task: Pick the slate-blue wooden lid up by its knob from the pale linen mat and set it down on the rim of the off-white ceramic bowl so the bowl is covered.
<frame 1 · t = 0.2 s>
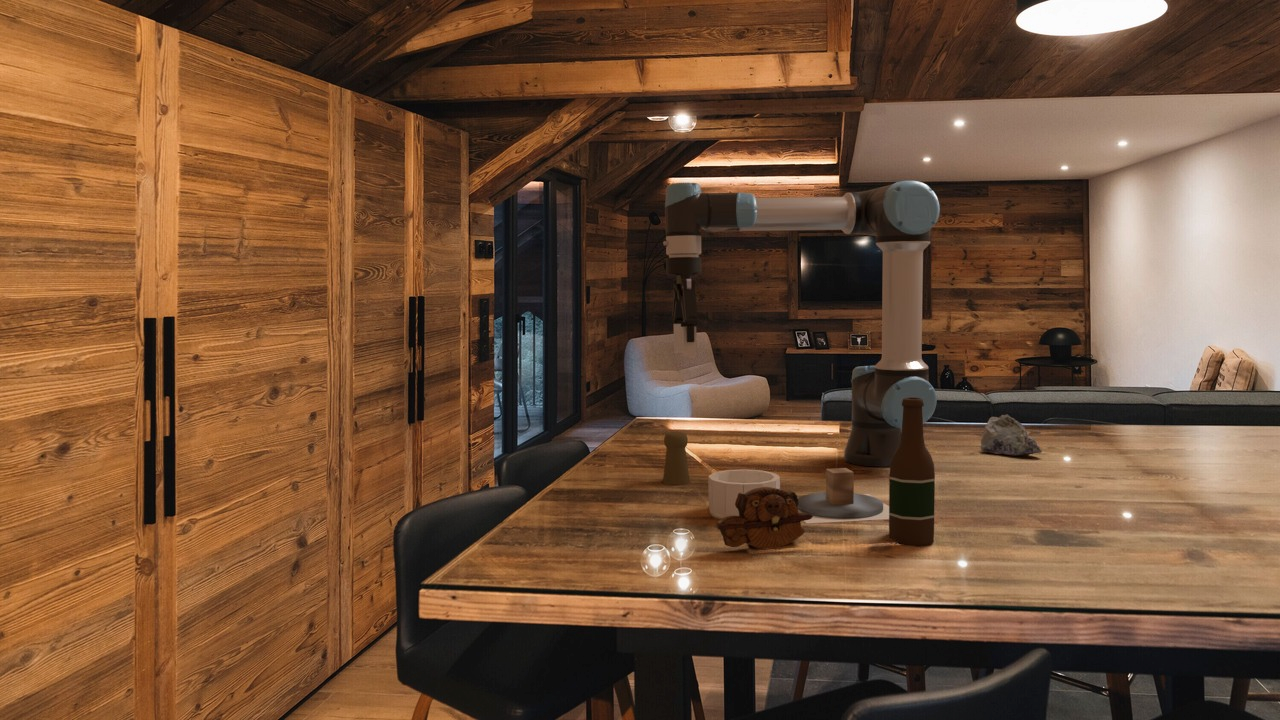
hand: (684, 355, 199), 28 cm above the table, tool pointing down, fingers open, 13 cm apart
beer bottle: (911, 541, 155), on the table
cork: (676, 483, 202), on the table
mat: (839, 510, 175), on the table
wooden carving: (766, 549, 151), on the table
lid: (839, 507, 175), point 1 cm above the table, touching mat
bowl: (744, 513, 174), on the table
mineral rock: (1009, 456, 226), on the table
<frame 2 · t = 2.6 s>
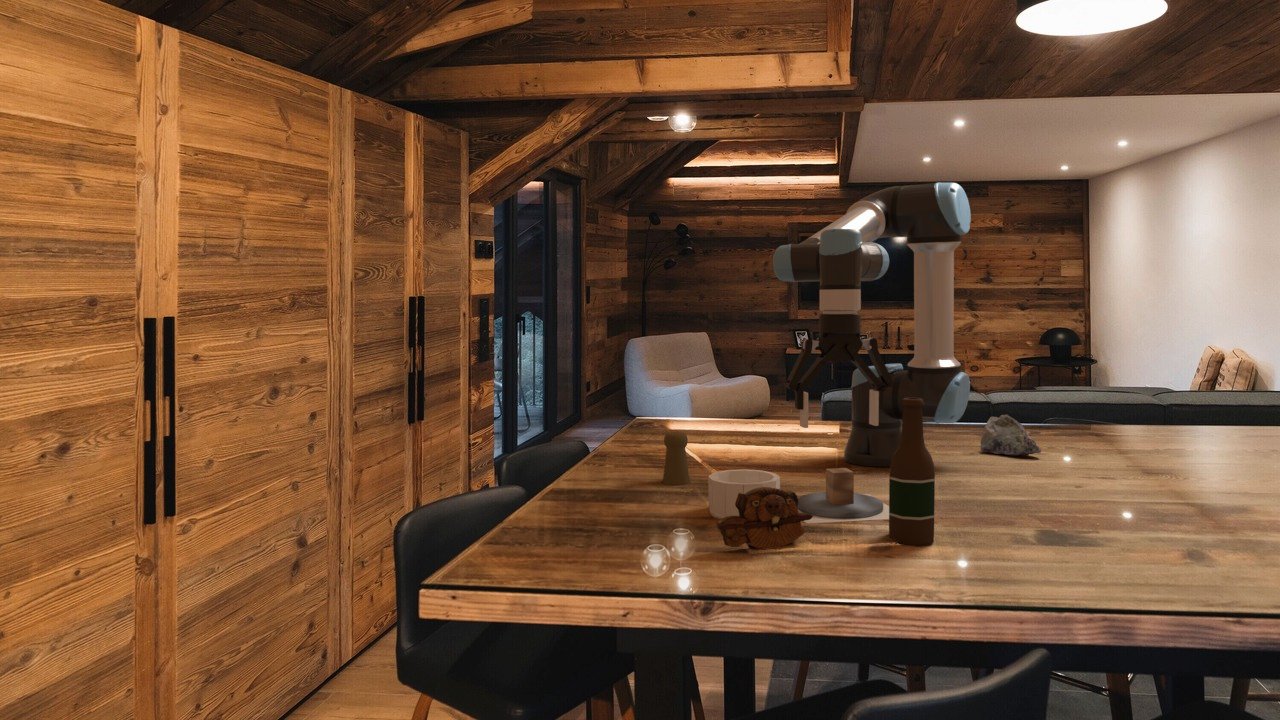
hand: (839, 426, 173), 16 cm above the table, tool pointing down, fingers open, 13 cm apart
nothing on the table moved.
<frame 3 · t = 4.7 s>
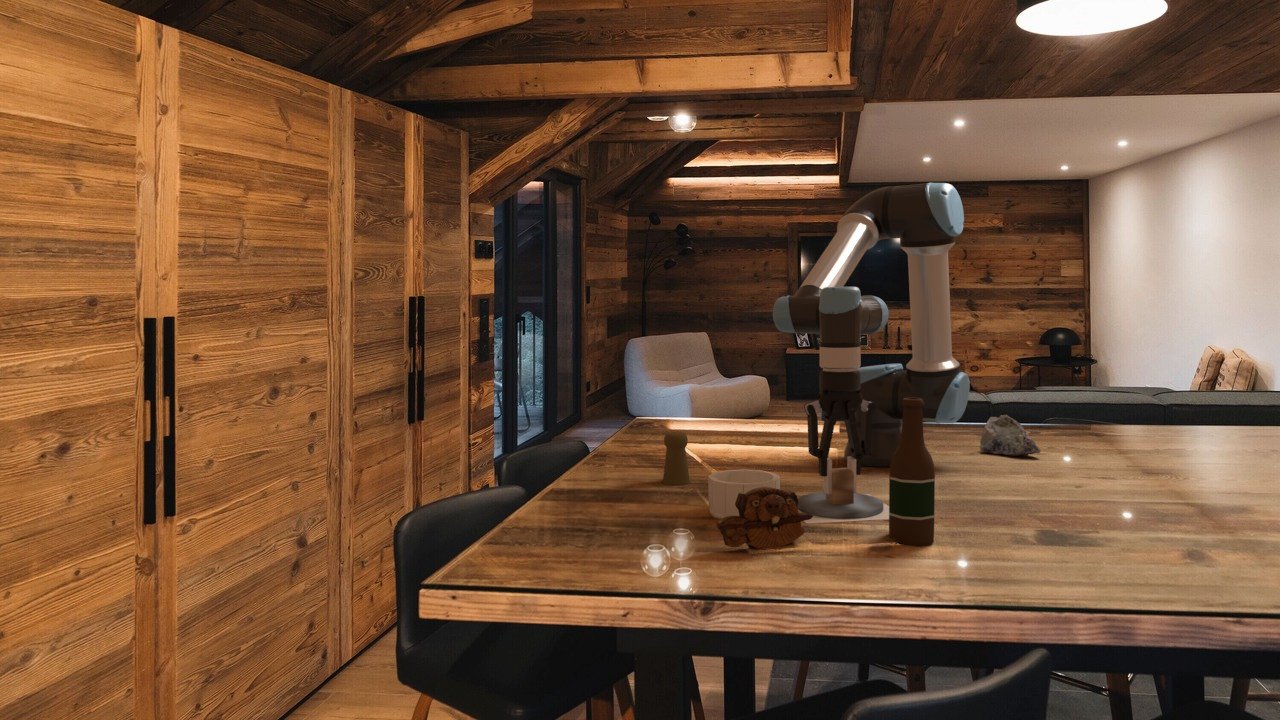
hand: (839, 492, 174), 4 cm above the table, tool pointing down, fingers closed on lid, 4 cm apart
lid: (839, 507, 175), point 1 cm above the table, touching gripper, mat
everything else where it was.
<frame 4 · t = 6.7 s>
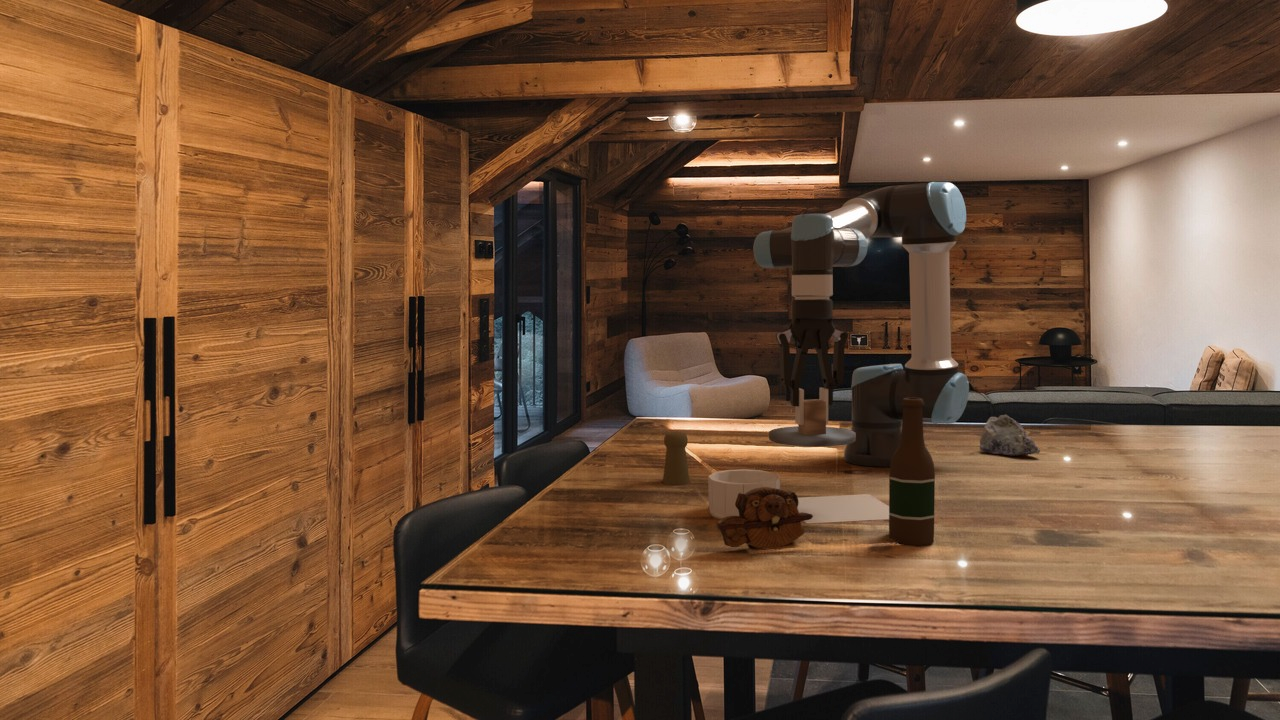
hand: (811, 422, 173), 17 cm above the table, tool pointing down, fingers closed on lid, 4 cm apart
lid: (811, 439, 173), point 14 cm above the table, touching gripper
everything else where it was.
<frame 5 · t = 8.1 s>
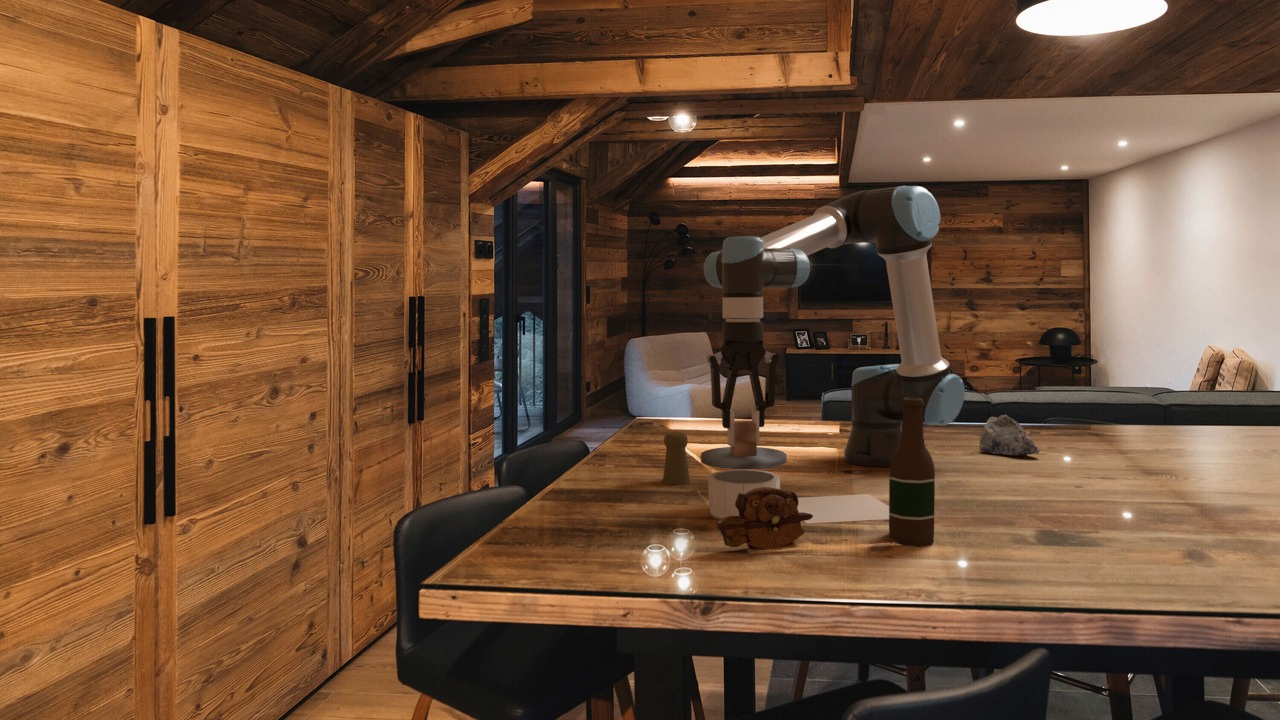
hand: (743, 444, 173), 13 cm above the table, tool pointing down, fingers closed on lid, 4 cm apart
lid: (743, 460, 173), point 10 cm above the table, touching gripper
everything else where it was.
when the fingers open (12 cm above the table, at t = 8.9 s): lid drops 2 cm, resting on bowl.
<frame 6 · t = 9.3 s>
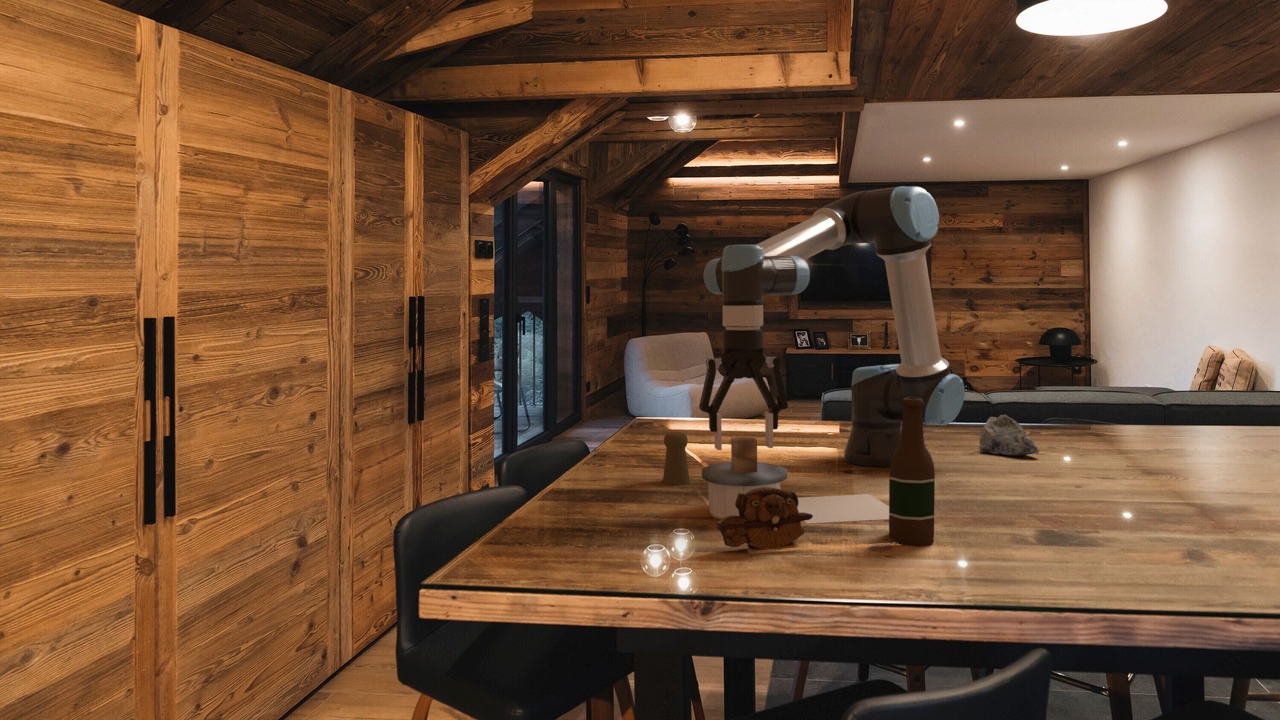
hand: (743, 447, 173), 13 cm above the table, tool pointing down, fingers open, 9 cm apart
lid: (744, 476, 174), point 7 cm above the table, touching bowl
everything else where it was.
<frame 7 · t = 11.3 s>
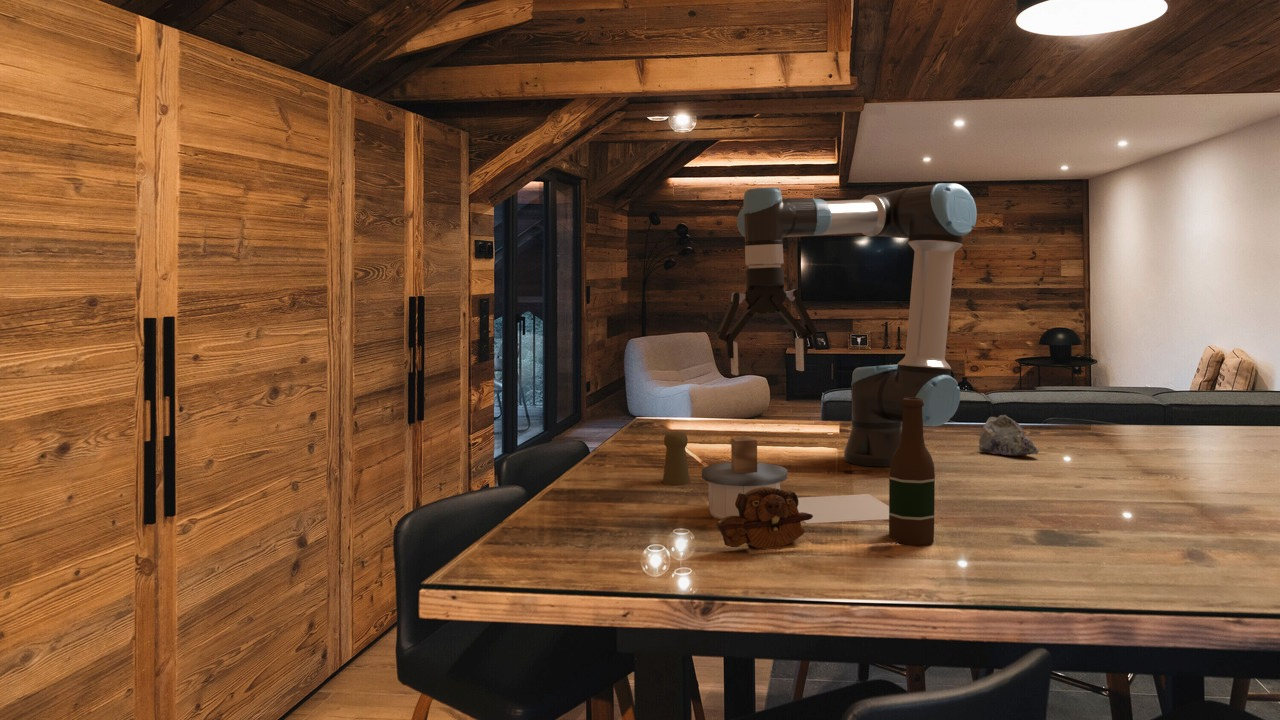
hand: (767, 372, 186), 25 cm above the table, tool pointing down, fingers open, 13 cm apart
nothing on the table moved.
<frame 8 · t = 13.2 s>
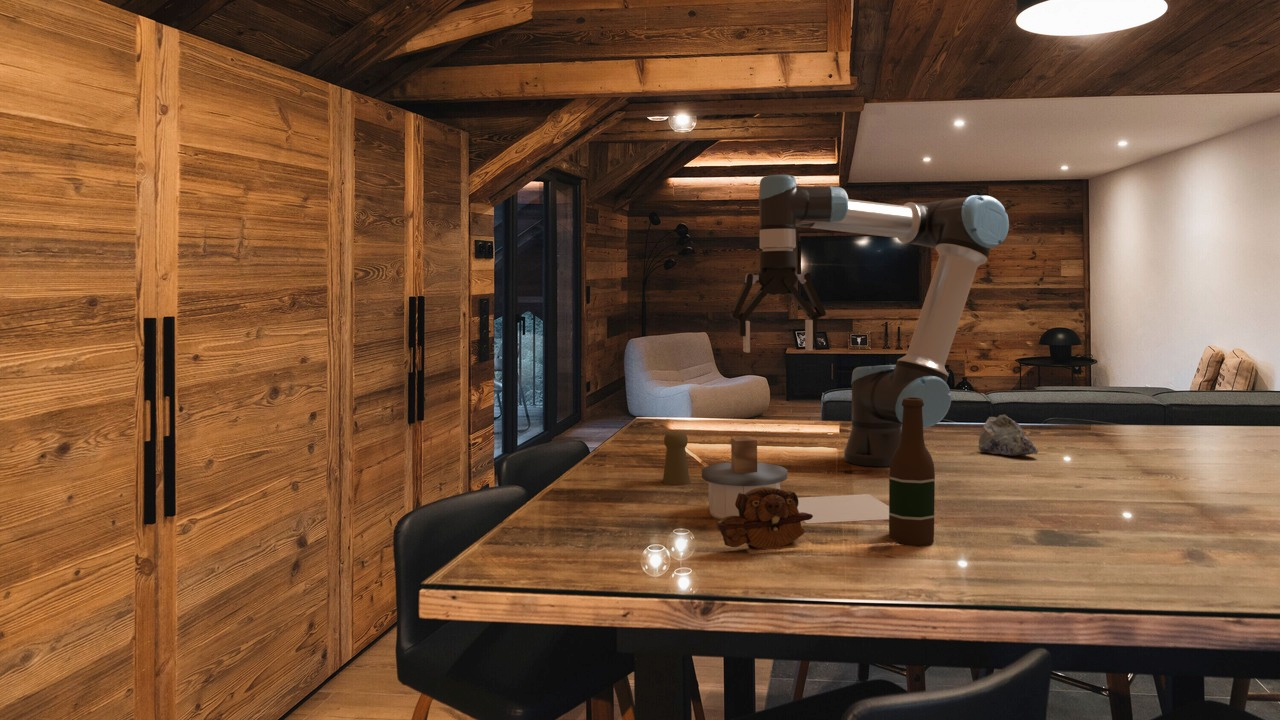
hand: (777, 351, 195), 29 cm above the table, tool pointing down, fingers open, 13 cm apart
nothing on the table moved.
at the end: lid 0.0 cm off-centre on the bowl, point 7.0 cm above the bowl's base; lid tilted 0°; the gripper is holding nothing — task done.
